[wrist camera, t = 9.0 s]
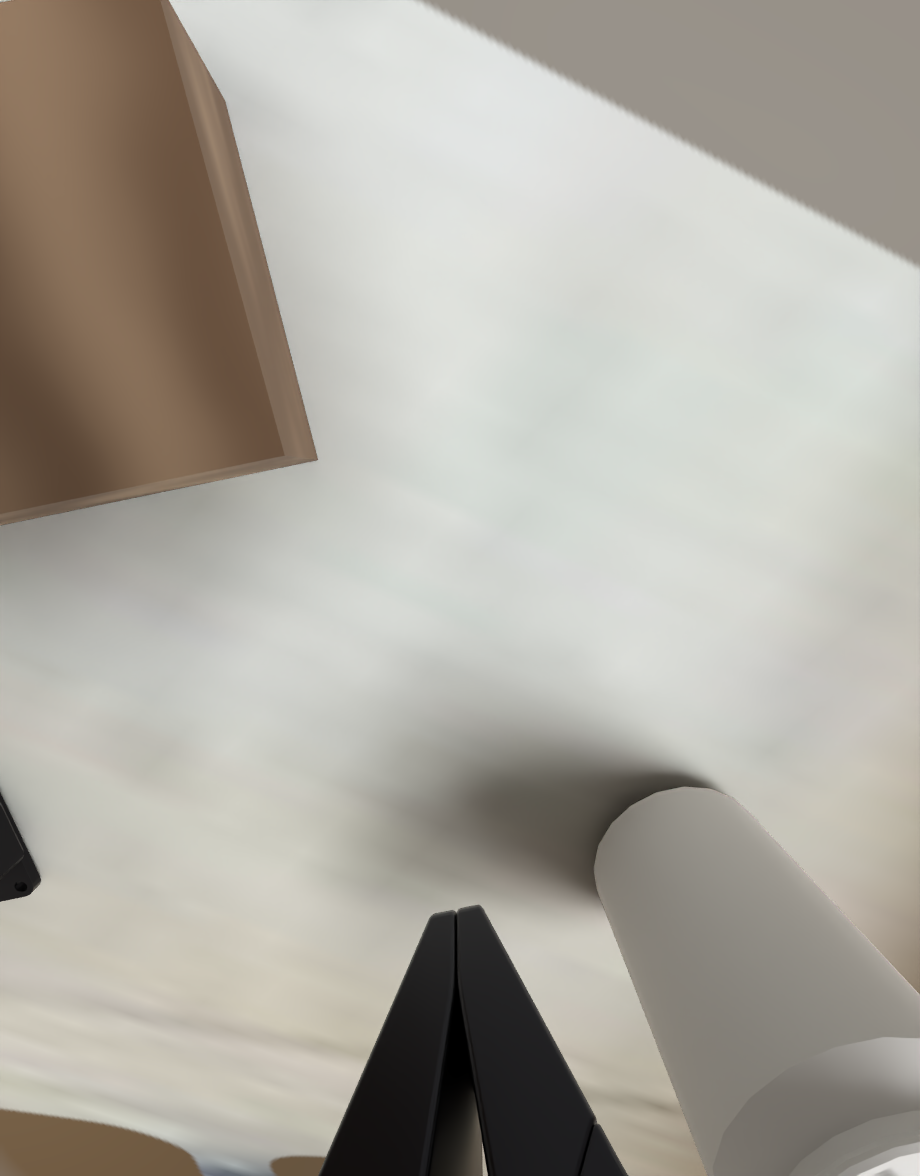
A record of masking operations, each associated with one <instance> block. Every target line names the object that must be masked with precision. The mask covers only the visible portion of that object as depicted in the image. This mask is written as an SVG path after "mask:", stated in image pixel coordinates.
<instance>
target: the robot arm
mask: <svg viewBox="0 0 920 1176" xmlns="http://www.w3.org/2000/svg"><path fill="white" fill-rule="evenodd" d="M40 882H41V878H40V875H39V873H38V871H37V869H36V867H35V865H34V863H33V860H32V858H31V856H30V854H29V852H28V850H27V848H26V846H25V844H24V842H23V840H22V837H21V835H20V833H19V831H18V829H17V827H16V825H15V823H14V821H13V819H12V816H11V814H10V812H9V810H8V808H7V806H6V804H5V802H4V800H3V798H2V796H1V793H0V902H1V901H6V900H10V899H15V898H20V897H25V896H28V895H30V894H31V893H32V892H33V891H34V890H35V889H36V888H37V887H38V886H39V885H40ZM482 1142H483V1148H484V1154H485V1160H486V1166H487V1172H488V1176H628V1175H627V1173H626V1171H625V1169H624V1168H623V1166H622V1164H621V1162H620V1161H619V1159H618V1157H617V1155H616V1153H615V1151H614V1150H613V1148H612V1146H611V1144H610V1142H609V1140H608V1139H607V1137H606V1135H605V1133H604V1131H603V1129H602V1127H601V1126H600V1125H599V1124H597V1121H596V1117H595V1115H594V1113H593V1111H592V1110H591V1108H590V1106H589V1104H588V1102H587V1100H586V1098H585V1097H584V1095H583V1093H582V1091H581V1089H580V1087H579V1085H578V1084H577V1082H576V1080H575V1078H574V1076H573V1074H572V1072H571V1071H570V1069H569V1067H568V1065H567V1063H566V1061H565V1059H564V1058H563V1056H562V1054H561V1052H560V1050H559V1048H558V1046H557V1045H556V1043H555V1041H554V1039H553V1037H552V1035H551V1033H550V1032H549V1030H548V1028H547V1026H546V1024H545V1022H544V1021H543V1019H542V1017H541V1015H540V1013H539V1011H538V1009H537V1008H536V1006H535V1004H534V1002H533V1000H532V998H531V996H530V995H529V993H528V991H527V989H526V987H525V985H524V983H523V982H522V980H521V978H520V976H519V974H518V972H517V970H516V969H515V967H514V965H513V963H512V961H511V959H510V957H509V956H508V954H507V952H506V950H505V948H504V946H503V944H502V943H501V941H500V939H499V937H498V935H497V933H496V931H495V930H494V928H493V926H492V924H491V922H490V920H489V919H488V917H487V915H486V913H485V911H484V909H483V908H482V907H481V906H480V905H474V906H469V907H464V908H460V909H459V910H458V911H457V913H456V912H455V911H453V910H450V911H445V912H440V913H435V914H433V915H432V916H431V917H430V918H429V920H428V923H427V925H426V927H425V930H424V932H423V934H422V937H421V939H420V941H419V943H418V946H417V948H416V950H415V953H414V955H413V957H412V960H411V962H410V964H409V967H408V969H407V971H406V974H405V976H404V978H403V980H402V983H401V985H400V987H399V990H398V992H397V994H396V997H395V999H394V1001H393V1004H392V1006H391V1008H390V1011H389V1013H388V1015H387V1017H386V1020H385V1022H384V1024H383V1027H382V1029H381V1031H380V1034H379V1036H378V1038H377V1041H376V1043H375V1045H374V1047H373V1050H372V1052H371V1054H370V1057H369V1059H368V1061H367V1064H366V1066H365V1068H364V1071H363V1073H362V1075H361V1078H360V1080H359V1082H358V1084H357V1087H356V1089H355V1091H354V1094H353V1096H352V1098H351V1101H350V1103H349V1105H348V1108H347V1110H346V1112H345V1115H344V1117H343V1119H342V1121H341V1124H340V1126H339V1128H338V1131H337V1133H336V1135H335V1138H334V1140H333V1142H332V1145H331V1147H330V1149H329V1151H328V1154H327V1156H326V1158H325V1161H324V1163H323V1165H322V1168H321V1170H320V1172H319V1176H483V1172H482Z"/></svg>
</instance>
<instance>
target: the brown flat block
mask: <svg viewBox="0 0 920 1176" xmlns="http://www.w3.org/2000/svg"><path fill="white" fill-rule="evenodd" d="M316 460H318V458H317V454H316V450H315V447H314V443H313V439H312V435H311V431H310V427H309V423H308V420H307V416H306V412H305V408H304V404H303V400H302V396H301V392H300V389H299V385H298V381H297V377H296V373H295V369H294V365H293V362H292V358H291V354H290V350H289V346H288V342H287V338H286V335H285V331H284V327H283V323H282V319H281V315H280V311H279V307H278V304H277V300H276V296H275V292H274V288H273V284H272V280H271V277H270V273H269V269H268V265H267V261H266V257H265V253H264V249H263V246H262V242H261V238H260V234H259V230H258V226H257V222H256V219H255V215H254V211H253V207H252V203H251V199H250V195H249V192H248V188H247V184H246V180H245V176H244V172H243V168H242V164H241V161H240V157H239V153H238V149H237V145H236V141H235V137H234V134H233V130H232V126H231V122H230V118H229V114H228V110H227V107H226V103H225V100H224V98H223V96H222V94H221V93H220V91H219V89H218V87H217V86H216V84H215V82H214V80H213V78H212V77H211V75H210V73H209V71H208V70H207V68H206V66H205V64H204V62H203V61H202V59H201V57H200V55H199V54H198V52H197V50H196V48H195V46H194V45H193V43H192V41H191V39H190V38H189V36H188V34H187V32H186V30H185V29H184V27H183V25H182V23H181V22H180V20H179V18H178V16H177V14H176V13H175V11H174V9H173V7H172V6H171V4H170V2H169V0H11V1H6V2H1V3H0V525H4V524H9V523H14V522H19V521H24V520H29V519H34V518H38V517H43V516H48V515H53V514H58V513H63V512H68V511H72V510H77V509H82V508H87V507H92V506H97V505H102V504H106V503H111V502H116V501H121V500H126V499H131V498H136V497H141V496H145V495H150V494H155V493H160V492H165V491H170V490H175V489H179V488H184V487H189V486H194V485H199V484H204V483H209V482H213V481H218V480H223V479H228V478H233V477H238V476H243V475H248V474H252V473H257V472H262V471H267V470H272V469H277V468H282V467H286V466H291V465H296V464H301V463H306V462H311V461H316Z"/></svg>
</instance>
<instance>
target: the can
mask: <svg viewBox="0 0 920 1176" xmlns="http://www.w3.org/2000/svg"><path fill="white" fill-rule="evenodd" d="M594 875H595V881H596V887H597V892H598V894H599V897H600V899H601V902H602V905H603V907H604V910H605V912H606V915H607V917H608V920H609V923H610V925H611V928H612V930H613V933H614V936H615V938H616V941H617V943H618V946H619V948H620V951H621V954H622V956H623V959H624V961H625V964H626V967H627V969H628V972H629V974H630V977H631V979H632V982H633V985H634V987H635V990H636V992H637V995H638V997H639V1000H640V1003H641V1005H642V1008H643V1010H644V1013H645V1016H646V1018H647V1021H648V1023H649V1026H650V1028H651V1031H652V1034H653V1036H654V1039H655V1041H656V1044H657V1046H658V1049H659V1052H660V1054H661V1057H662V1059H663V1062H664V1065H665V1067H666V1070H667V1072H668V1075H669V1077H670V1080H671V1083H672V1085H673V1088H674V1090H675V1093H676V1096H677V1098H678V1101H679V1103H680V1106H681V1108H682V1111H683V1114H684V1116H685V1119H686V1121H687V1124H688V1126H689V1129H690V1132H691V1134H692V1137H693V1139H694V1142H695V1145H696V1147H697V1150H698V1152H699V1155H700V1157H701V1160H702V1163H703V1165H704V1168H705V1170H706V1173H707V1175H708V1176H920V994H919V993H918V992H917V991H916V990H915V989H914V988H913V987H912V986H911V985H910V984H909V983H908V981H907V980H906V979H905V978H904V977H903V976H902V975H901V974H900V973H899V972H898V971H897V970H896V969H895V967H894V966H893V965H892V964H891V963H890V962H889V961H888V960H887V959H886V958H885V957H884V956H883V955H882V954H881V952H880V951H879V950H878V949H877V948H876V947H875V946H874V945H873V944H872V943H871V942H870V941H869V940H868V939H867V937H866V936H865V935H864V934H863V933H862V932H861V931H860V930H859V929H858V928H857V927H856V926H855V925H854V923H853V922H852V921H851V920H850V919H849V918H848V917H847V916H846V915H845V914H844V913H843V912H842V911H841V910H840V908H839V907H838V906H837V905H836V904H835V903H834V902H833V901H832V900H831V899H830V898H829V897H828V896H827V894H826V893H825V892H824V891H823V890H822V889H821V888H820V887H819V886H818V885H817V884H816V883H815V882H814V881H813V879H812V878H811V877H810V876H809V875H808V874H807V873H806V872H805V871H804V870H803V869H802V868H801V867H800V865H799V864H798V863H797V862H796V861H795V860H794V859H793V858H792V857H791V856H790V855H789V854H788V853H787V852H786V850H785V849H784V848H783V847H782V846H781V845H780V844H779V843H778V842H777V841H776V840H775V839H774V838H773V837H772V835H771V834H770V833H769V832H768V831H767V830H766V829H765V828H764V827H763V826H762V825H761V824H760V823H759V821H758V820H757V819H756V818H755V817H754V816H753V815H752V814H751V813H750V812H749V811H748V810H747V809H746V808H744V807H743V806H742V805H741V804H740V803H739V802H738V801H737V800H736V799H734V798H733V797H730V796H728V795H725V794H723V793H720V792H718V791H715V790H713V789H709V788H696V787H679V788H675V789H670V790H665V791H660V792H656V793H654V794H652V795H650V796H648V797H646V798H644V799H642V800H640V801H638V802H636V803H634V804H633V805H631V806H630V807H629V808H628V809H627V810H625V811H624V812H623V813H622V814H621V815H620V816H619V817H618V818H617V819H616V820H615V821H614V822H612V823H611V825H610V827H609V828H608V830H607V832H606V833H605V835H604V837H603V839H602V840H601V842H600V844H599V845H598V850H597V854H596V859H595V864H594Z"/></svg>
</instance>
